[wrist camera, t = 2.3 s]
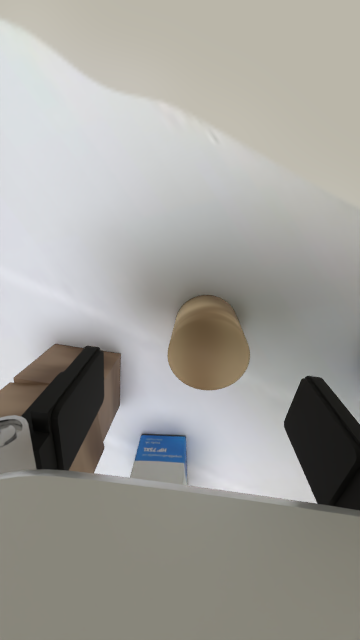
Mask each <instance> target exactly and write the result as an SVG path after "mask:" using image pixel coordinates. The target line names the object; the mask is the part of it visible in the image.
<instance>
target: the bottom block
mask: <svg viewBox="0 0 360 640" xmlns="http://www.w3.org/2000/svg"><path fill="white" fill-rule="evenodd" d="M83 349H84V348H79V347H72V346H65V345H59V344H54V345H53V346H52V347H51V348H50V349H48V350H47V351H46V352H45V353H43V354H42V355H41V356H40V357H39V358H37V359H36V360H35V361H34V362H32V363H31V364H30V365H29V366H27V367H26V368H25V369H24V370H23V371H21V372H20V373H19V374H18V375H16V376H15V377H14V383H33V384H50V383H51V382H52V381H53V380H54V378H55V377H56V376H57V375H58V374H59V373H60V372H63V371H65V370H66V369H67V368H68V366H69V365H70V364H71V363H72V362H73V361H74V359H75V358H76V357H77V356H78V355H79V354H80V353H81V351H82V350H83ZM103 352H104V401H103V404H102V406H101V408H100V410H99V412H98V419H99V424H100V429H101V434H102V438H103V441H104V439H105V437H106V435H107V432H108V430H109V428H110V426H111V423H112V421H113V419H114V417H115V415H116V412H117V410H118V408H119V406H120V364H121V354H119V353H112V352H105V351H103Z"/></svg>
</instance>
